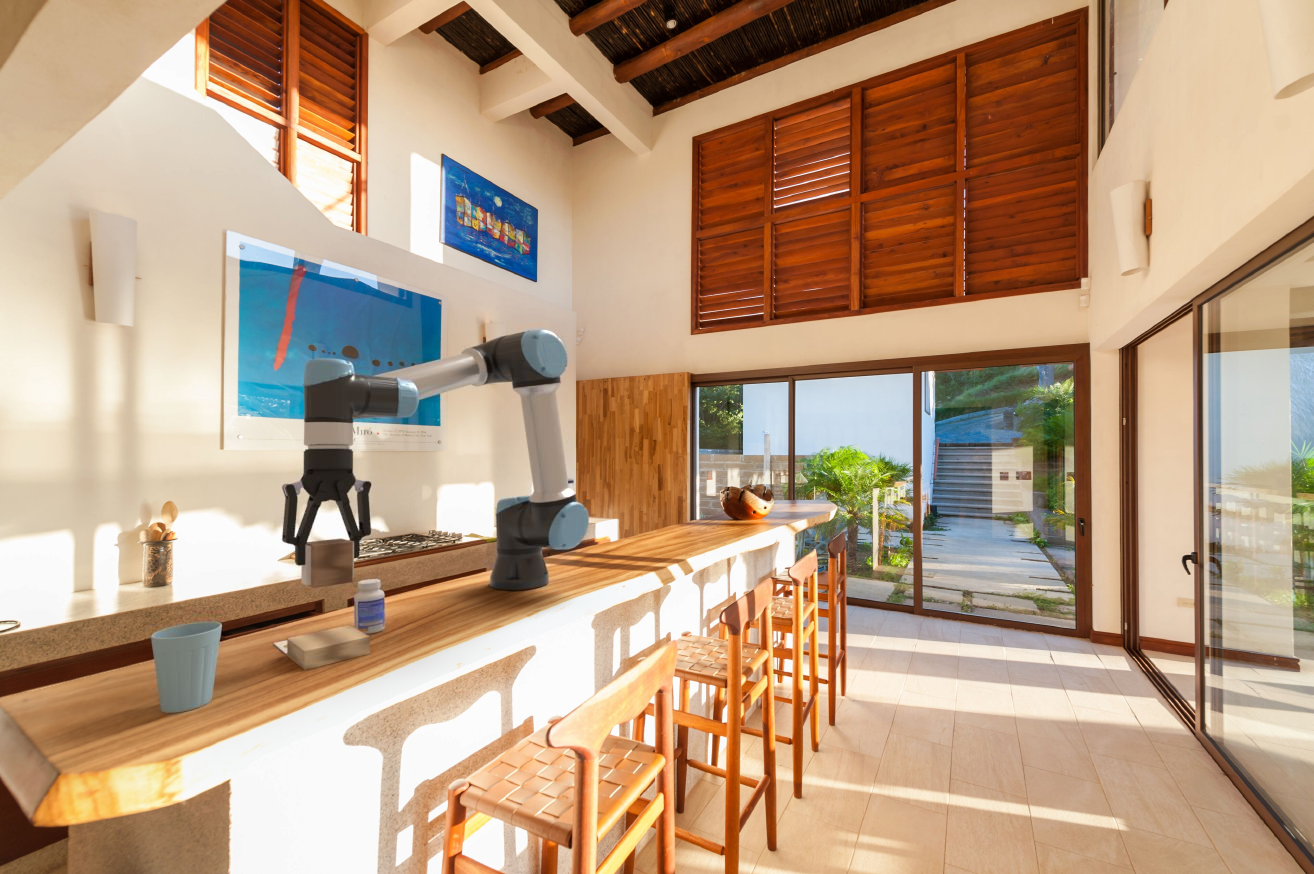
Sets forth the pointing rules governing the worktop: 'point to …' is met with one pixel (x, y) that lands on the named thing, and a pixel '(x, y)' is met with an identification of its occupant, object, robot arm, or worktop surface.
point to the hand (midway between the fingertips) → (328, 580)
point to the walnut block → (331, 562)
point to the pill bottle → (369, 607)
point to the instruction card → (282, 646)
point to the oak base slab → (327, 646)
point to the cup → (186, 664)
